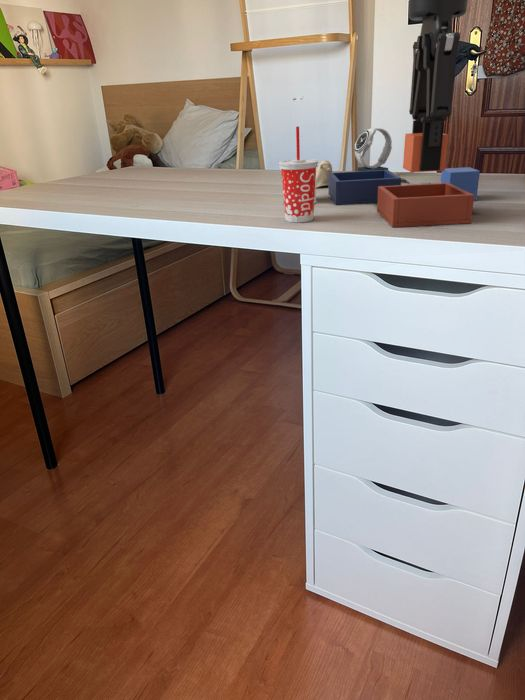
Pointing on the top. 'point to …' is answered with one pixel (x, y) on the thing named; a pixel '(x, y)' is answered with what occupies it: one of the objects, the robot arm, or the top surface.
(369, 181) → the navy bin
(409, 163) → the terracotta block
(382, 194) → the rust bin
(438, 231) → the top surface
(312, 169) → the beverage cup
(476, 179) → the slate blue block
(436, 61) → the robot arm
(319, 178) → the decorative ornament
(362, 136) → the watch
